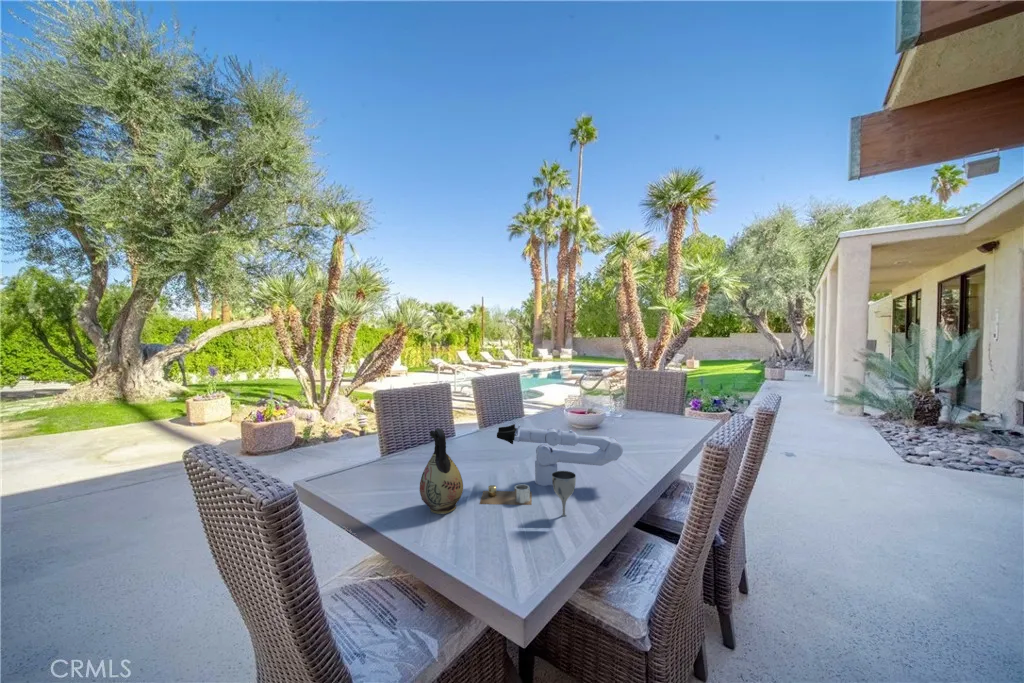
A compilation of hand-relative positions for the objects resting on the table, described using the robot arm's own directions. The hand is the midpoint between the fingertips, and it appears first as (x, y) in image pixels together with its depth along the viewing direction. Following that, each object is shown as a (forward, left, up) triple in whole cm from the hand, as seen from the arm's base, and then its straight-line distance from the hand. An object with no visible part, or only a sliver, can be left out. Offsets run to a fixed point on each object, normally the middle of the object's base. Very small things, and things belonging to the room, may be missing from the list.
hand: (497, 432), depth 167 cm
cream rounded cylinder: (+1, +14, -22) cm, 26 cm away
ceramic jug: (+18, +25, -22) cm, 38 cm away
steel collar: (-11, +18, -21) cm, 30 cm away
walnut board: (-5, +16, -22) cm, 27 cm away
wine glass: (-25, +30, -22) cm, 45 cm away
